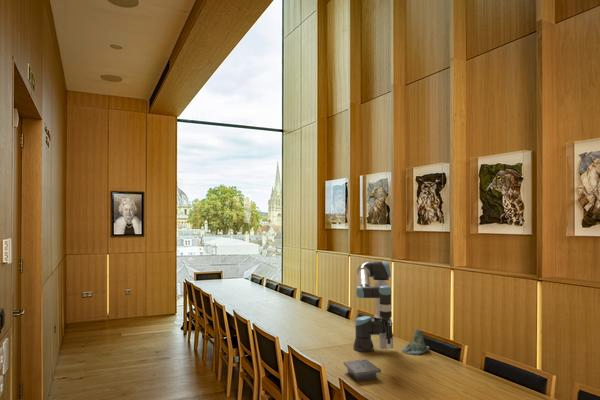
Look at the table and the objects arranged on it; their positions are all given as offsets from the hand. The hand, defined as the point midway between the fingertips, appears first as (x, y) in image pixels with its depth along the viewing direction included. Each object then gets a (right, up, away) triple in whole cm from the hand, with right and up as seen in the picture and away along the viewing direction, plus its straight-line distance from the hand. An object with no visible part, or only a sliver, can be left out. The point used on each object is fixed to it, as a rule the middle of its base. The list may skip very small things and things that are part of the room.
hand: (386, 347), depth 267 cm
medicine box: (0, -1, 0) cm, 1 cm away
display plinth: (-17, -15, -8) cm, 24 cm away
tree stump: (+30, -17, +41) cm, 53 cm away
